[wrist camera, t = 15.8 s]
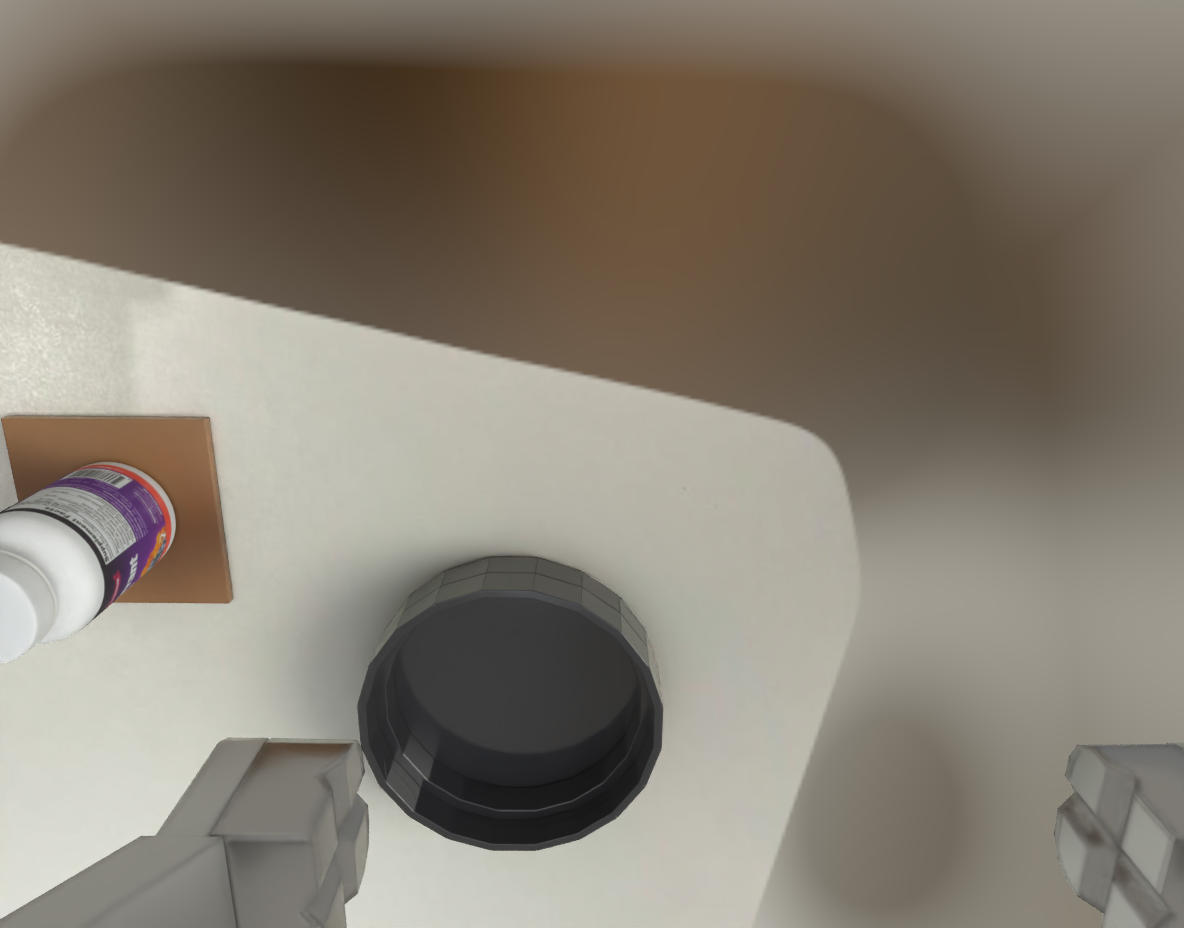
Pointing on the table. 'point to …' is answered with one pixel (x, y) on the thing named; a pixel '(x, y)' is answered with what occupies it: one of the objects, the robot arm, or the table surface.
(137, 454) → the copper plate
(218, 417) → the table surface
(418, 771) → the pan
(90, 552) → the pill bottle
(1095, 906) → the robot arm
